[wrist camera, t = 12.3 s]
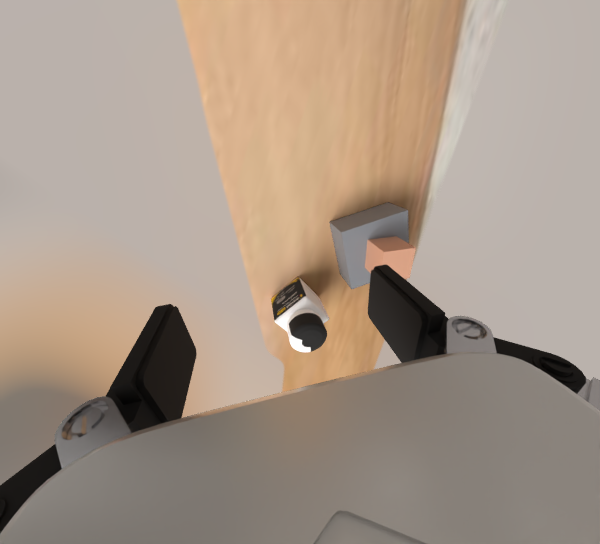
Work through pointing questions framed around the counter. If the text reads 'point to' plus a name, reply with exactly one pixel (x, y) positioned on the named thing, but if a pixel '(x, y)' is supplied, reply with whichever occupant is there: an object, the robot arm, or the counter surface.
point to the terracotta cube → (390, 255)
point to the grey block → (365, 238)
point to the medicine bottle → (300, 316)
